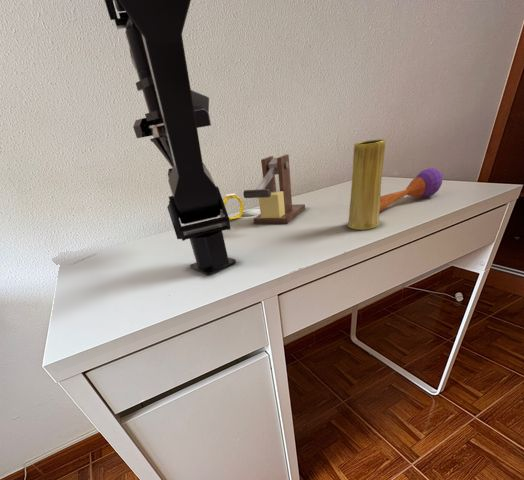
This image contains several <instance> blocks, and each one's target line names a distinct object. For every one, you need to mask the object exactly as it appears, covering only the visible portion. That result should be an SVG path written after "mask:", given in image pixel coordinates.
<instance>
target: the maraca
mask: <svg viewBox="0 0 524 480" xmlns="http://www.w3.org/2000/svg"><path fill="white" fill-rule="evenodd" d="M443 180H444V178H443V174H442V172H441V171H440V170H439V169H437V168H434V167H428V168H426V169H424V170H421V171H420V172H419V173H418V174H417V175H416V176H415V178H413V179H412V180H411V181H410V183H409V184H408V185H407V186H406V188H405V189H404V190H400V191H395V192H392V193H388V194H383V195H380V211H379V212H381V211H382V210H385V209H386V208H388V207H389V206H391V205H393V204H394V203H396V202H397V201H399V200H400V199H402V198H405V196H410V197H414V198H429V197H432V196H434V195H435V194H436V193H437V192H438V191H439V190H440V188H441V186H442V185H443Z"/></svg>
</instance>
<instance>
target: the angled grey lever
mask: <svg viewBox="0 0 524 480" xmlns="http://www.w3.org/2000/svg"><path fill="white" fill-rule="evenodd" d="M277 158H278V157H273V158H272V160H271V161H270V162H269V164H268V166H269V171H268V172H267V174H266V175H265V177H264V178H263V177H262V180H261V181H260V183H259V184H258V186H257V187H256V188H255V189H245V190H244V191H243V198H244V199H259V198H264V197H270V196H271V190H270V189H265V187H266V186H267V184H268V183H269V181H270V180H271V178H272V177H273V175H275V176H276V175H278V164H277Z"/></svg>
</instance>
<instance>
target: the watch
mask: <svg viewBox="0 0 524 480" xmlns="http://www.w3.org/2000/svg"><path fill="white" fill-rule="evenodd" d="M229 199H236V200H237V201H238V204H239V207H240V208H239V212H238V214H237V215H236V216H232V217H229V221H233V220H237V219H240V218H241V217H242V216H243V214H244V209H245V207H244V203H243V200H242V199H241V197H239V196H238V195H237V193H227V194H225V197H224V198H223V202H224V205H225V206H226V204H227V201H228V200H229Z"/></svg>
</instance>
